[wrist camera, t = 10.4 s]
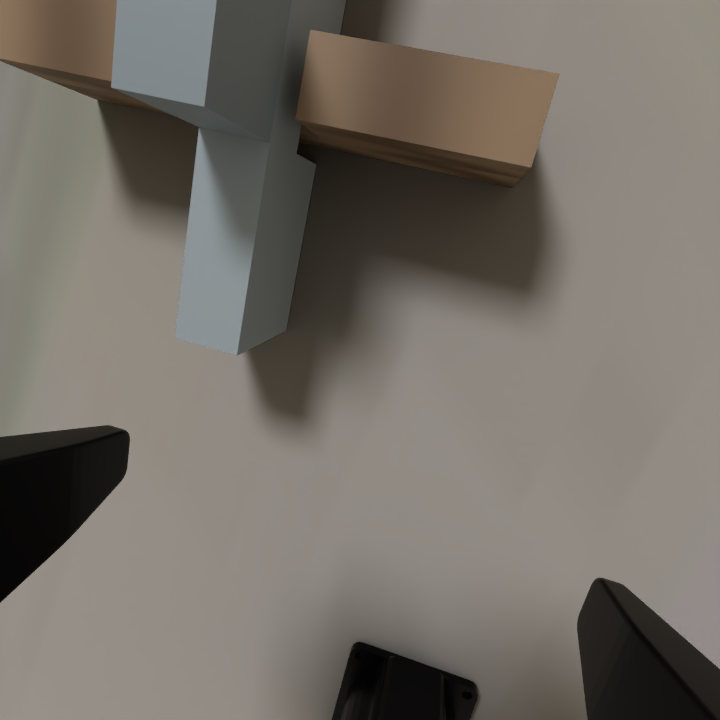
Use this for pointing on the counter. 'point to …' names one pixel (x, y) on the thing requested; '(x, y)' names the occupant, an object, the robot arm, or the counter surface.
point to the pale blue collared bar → (231, 149)
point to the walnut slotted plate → (330, 91)
